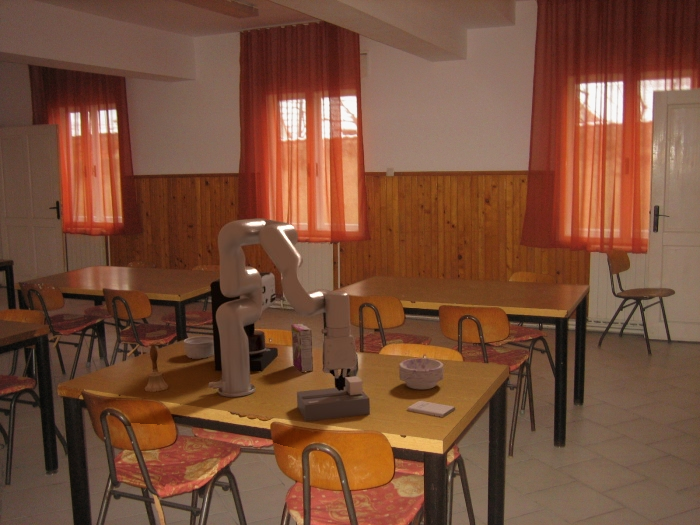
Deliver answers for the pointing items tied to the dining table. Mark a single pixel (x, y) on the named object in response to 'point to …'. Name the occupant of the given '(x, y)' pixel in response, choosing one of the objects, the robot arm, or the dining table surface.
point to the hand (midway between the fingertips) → (340, 389)
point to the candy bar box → (302, 347)
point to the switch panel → (331, 404)
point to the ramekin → (199, 347)
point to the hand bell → (155, 374)
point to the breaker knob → (354, 385)
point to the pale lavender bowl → (421, 373)
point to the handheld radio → (354, 372)
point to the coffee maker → (256, 338)
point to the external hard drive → (431, 408)
